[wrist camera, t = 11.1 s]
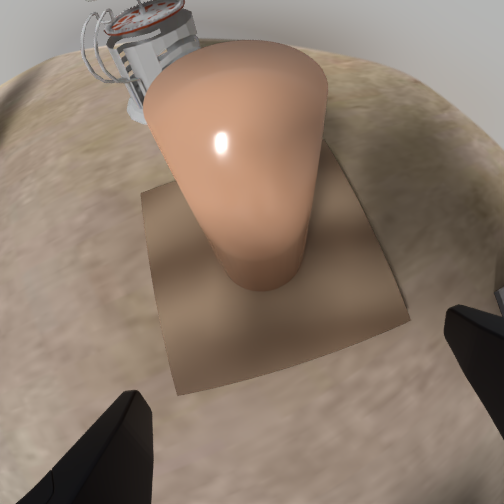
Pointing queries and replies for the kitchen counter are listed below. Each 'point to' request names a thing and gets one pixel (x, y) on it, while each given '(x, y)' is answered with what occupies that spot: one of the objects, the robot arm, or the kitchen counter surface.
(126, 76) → the french press
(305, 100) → the terracotta canister
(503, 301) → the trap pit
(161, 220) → the mat
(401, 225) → the kitchen counter surface
